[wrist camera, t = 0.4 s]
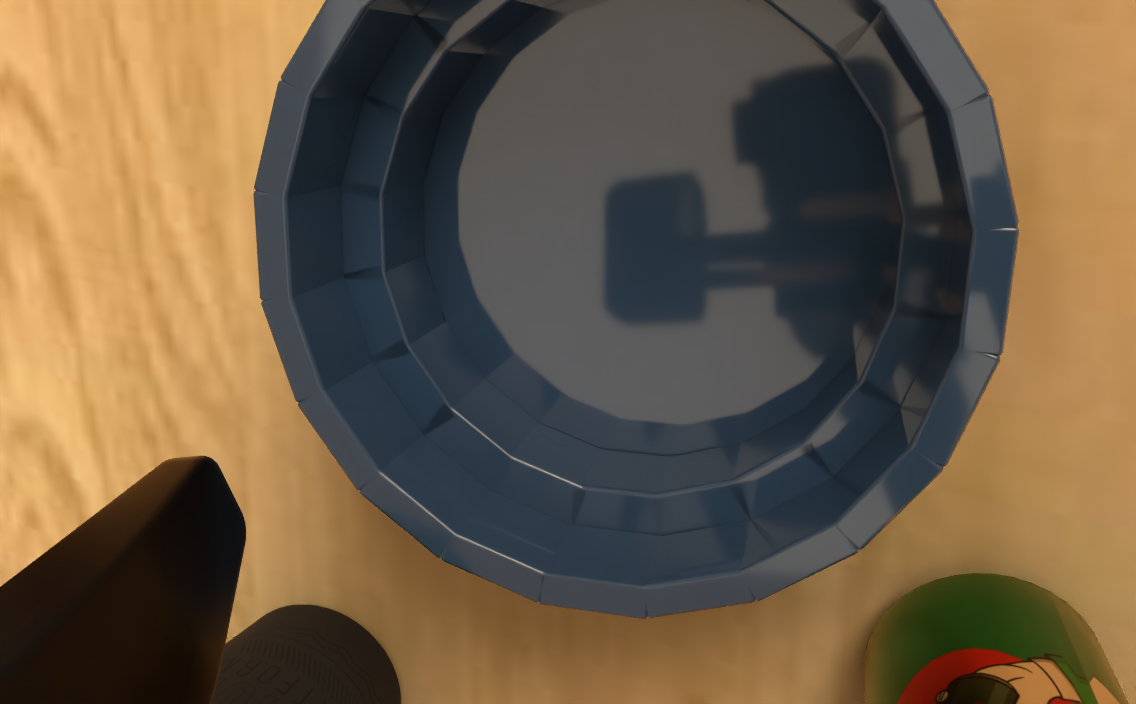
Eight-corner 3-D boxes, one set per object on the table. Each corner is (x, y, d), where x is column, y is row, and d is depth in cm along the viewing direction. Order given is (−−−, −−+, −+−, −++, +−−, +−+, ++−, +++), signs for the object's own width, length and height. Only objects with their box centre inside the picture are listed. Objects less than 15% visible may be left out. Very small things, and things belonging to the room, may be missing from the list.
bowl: (1124, 178, 20) (1215, 208, 15) (694, 618, 25) (662, 745, 20) (593, -242, 20) (522, -339, 16) (269, 269, 25) (139, 312, 20)
